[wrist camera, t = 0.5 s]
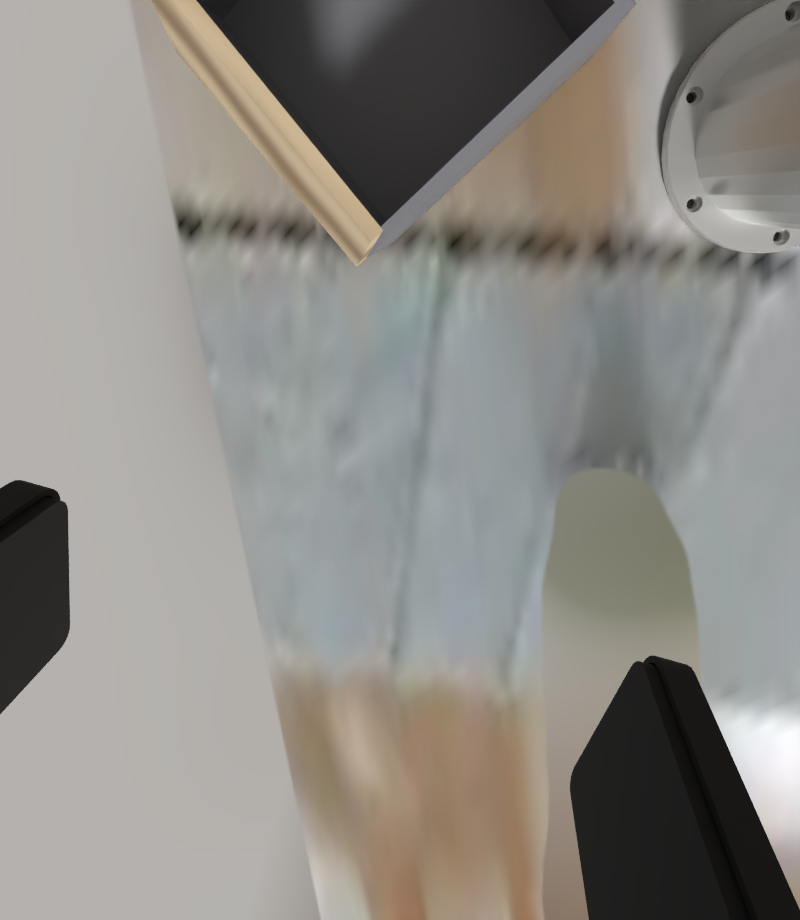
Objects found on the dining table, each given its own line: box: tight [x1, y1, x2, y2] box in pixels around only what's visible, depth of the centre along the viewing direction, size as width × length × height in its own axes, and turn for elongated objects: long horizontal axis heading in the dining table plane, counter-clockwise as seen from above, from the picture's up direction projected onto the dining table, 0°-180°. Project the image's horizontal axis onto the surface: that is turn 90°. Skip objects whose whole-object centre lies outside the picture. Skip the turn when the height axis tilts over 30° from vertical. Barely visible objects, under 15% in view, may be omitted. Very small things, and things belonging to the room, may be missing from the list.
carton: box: [196, 0, 636, 258], centre depth 29 cm, size 15×16×10 cm
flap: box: [152, 0, 383, 266], centre depth 24 cm, size 8×12×1 cm
